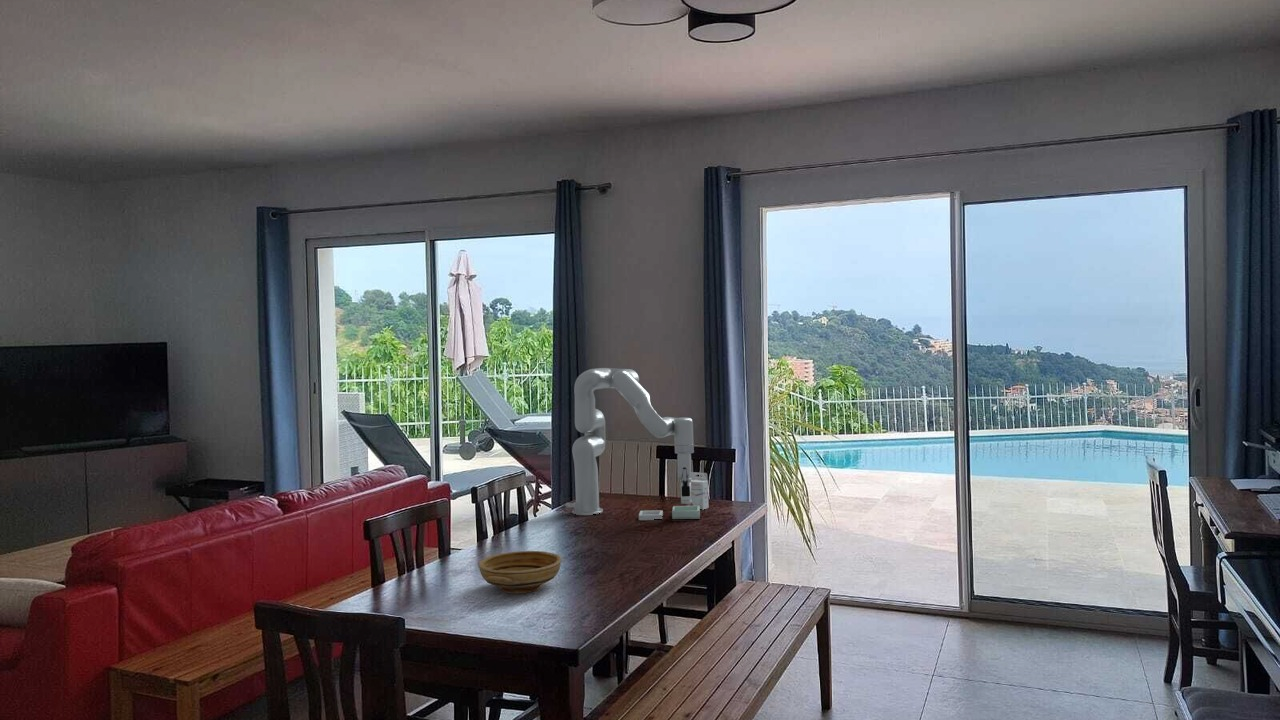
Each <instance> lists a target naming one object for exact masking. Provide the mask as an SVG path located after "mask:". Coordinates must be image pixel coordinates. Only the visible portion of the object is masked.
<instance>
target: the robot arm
mask: <svg viewBox="0 0 1280 720" xmlns="http://www.w3.org/2000/svg"><path fill="white" fill-rule="evenodd" d="M602 389H615V390H616V391H618V393H619V394H620V395H621V396H622V398H624V400H625V401H627V402H628V404H629V405H630V406H631V407H632V408H633V410H634V412H635V414H636V416H637V418H638V420H639V422H641V424H642V425H643V426H644V427H645V429H646V430H648V432H650V434H652V436H654V437H656V438H659V439H662V438H666V437H669V436H674V438H673V439H674V454H677V479H678V480H680V478H681V477H682V486H681V485H680V489H681V488H682V496H690V486H689V478H690V477H691V472H692V454H694V453H695V450H694V449H695V447H694V446H695V445H694V442H695V441H694V423H693V421H694V420H693V419H692V418H691V417H672V416H664V417H661V416H660V415H659V414H658V413H657V411H656V410H655V409H654V407H653V406H652V404H651V395H650V393H649V392H648V391H647V390H646V389H645V388H644V387H643V386H642V385H641V383H640V377H639V374H638V373H637V372H636V371H635V370H634V369H630V368H615V367H614V368H613V367H612V368H611V367H599V368H597V367H596V368H590V369H588V370H585V371H583V372H581V374H579V375H578V376H577V377H576V379H575V382H574V389H573V390H574V391H573V392H574V426H575V429H576V431H577V432H579V433H581V434H584V436H581V437H578V438H577V439H575V441H574V443H573V445H572V447H571V448H572V449H571V451H572V457H573V464H574V465H573V466H574V483H575V502H572V503H570V502H566V503H565V509H572V514H573V515H575V514H576V515H575V516H594V515H593V514H596V515H600V514H602V513H604V509H603V508H602V507H600V494H599V492H600V491H599V490H600V489H599V469H598V462H597V458H596V457H599V456H601V454H603V453H604V451H605V449H606V440H607V438H606V436H607V435H606V418H605V416H604V413H603V412H602V411H601V410H599V409H598V408H596V397H595V394H594V391H596V390H602ZM686 477H688V478H686ZM687 483H688V484H687ZM599 513H600V514H599Z"/></svg>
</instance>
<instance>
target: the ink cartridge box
mask: <svg viewBox="0 0 1280 720" xmlns="http://www.w3.org/2000/svg"><path fill="white" fill-rule="evenodd" d="M698 475H699V476H698ZM690 477H691V499H692V503H691V504H685V506H700V509H702V510H701V511H705V510H707V509H709V480H708V474H707V472H696V471H695V472H694V471H691V476H690ZM704 509H705V510H704Z"/></svg>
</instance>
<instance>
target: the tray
mask: <svg viewBox="0 0 1280 720" xmlns="http://www.w3.org/2000/svg"><path fill="white" fill-rule="evenodd" d="M671 518H672V519H701V510H700V506H686V505H673V506H672V510H671Z"/></svg>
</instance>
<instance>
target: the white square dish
mask: <svg viewBox="0 0 1280 720" xmlns="http://www.w3.org/2000/svg"><path fill="white" fill-rule="evenodd" d="M663 515H664V511H663V510H657V509H656V510H640V511H639V513H638V521H655V520H654V519H662V520H663V517H664V516H663ZM662 516H663V517H662Z"/></svg>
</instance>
